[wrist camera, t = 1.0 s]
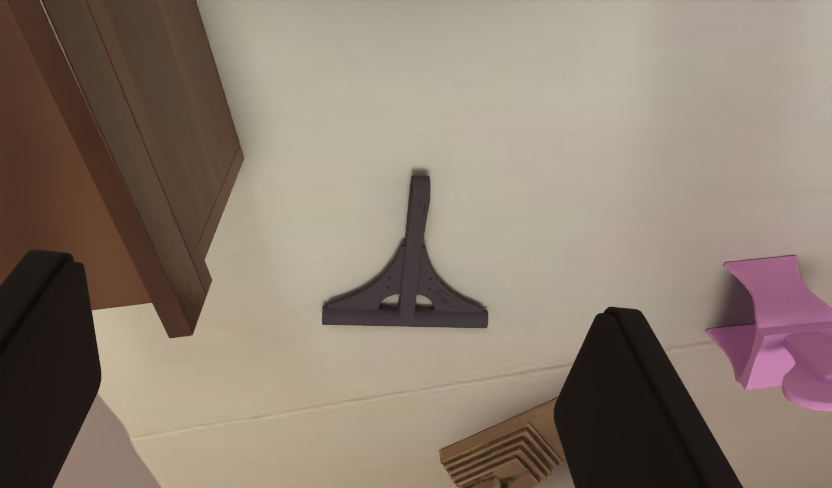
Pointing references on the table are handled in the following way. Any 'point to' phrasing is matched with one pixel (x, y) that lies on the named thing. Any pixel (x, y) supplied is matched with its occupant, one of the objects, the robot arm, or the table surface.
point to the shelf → (115, 148)
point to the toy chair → (781, 334)
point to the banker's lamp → (508, 452)
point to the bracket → (408, 284)
